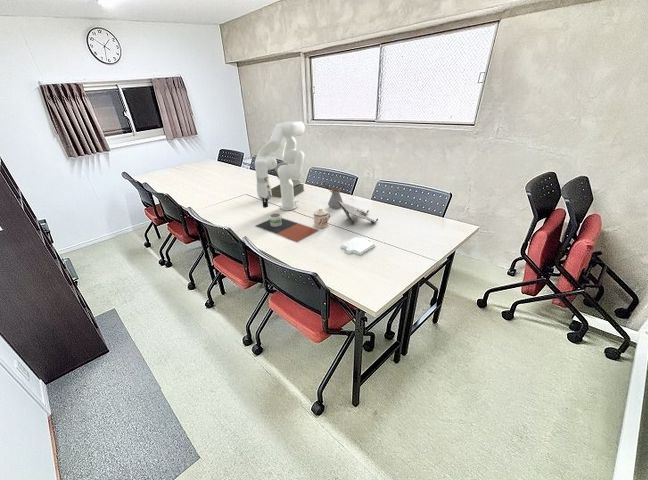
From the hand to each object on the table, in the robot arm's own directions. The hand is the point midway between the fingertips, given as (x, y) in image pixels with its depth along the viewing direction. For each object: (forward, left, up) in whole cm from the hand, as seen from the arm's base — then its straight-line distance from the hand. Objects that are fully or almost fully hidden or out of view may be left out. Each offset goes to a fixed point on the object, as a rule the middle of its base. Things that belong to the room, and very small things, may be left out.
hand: (265, 207), depth 192 cm
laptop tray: (-38, +48, -11) cm, 63 cm away
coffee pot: (-50, +17, -11) cm, 55 cm away
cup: (0, +8, -11) cm, 14 cm away
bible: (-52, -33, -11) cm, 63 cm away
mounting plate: (-6, +69, -11) cm, 71 cm away
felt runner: (0, +18, -11) cm, 21 cm away
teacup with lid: (-18, +34, -11) cm, 41 cm away
